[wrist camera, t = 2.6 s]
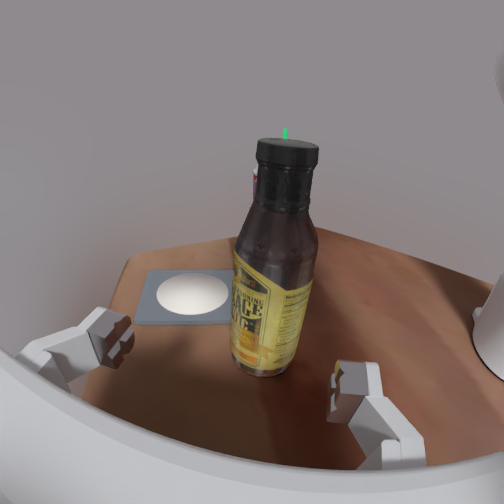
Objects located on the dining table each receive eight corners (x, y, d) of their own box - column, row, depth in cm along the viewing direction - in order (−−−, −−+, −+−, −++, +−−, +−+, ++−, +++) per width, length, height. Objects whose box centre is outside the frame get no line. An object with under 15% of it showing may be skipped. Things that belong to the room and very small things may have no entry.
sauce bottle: (223, 342, 29) (226, 134, 20) (279, 331, 31) (302, 138, 22) (241, 390, 23) (255, 142, 14) (305, 374, 25) (351, 149, 16)
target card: (239, 272, 41) (239, 268, 41) (250, 323, 32) (250, 318, 31) (149, 274, 39) (148, 269, 39) (134, 324, 30) (133, 319, 29)
